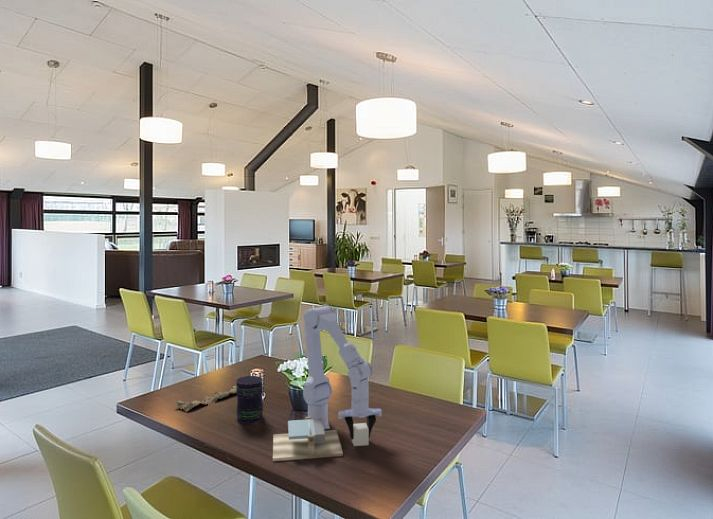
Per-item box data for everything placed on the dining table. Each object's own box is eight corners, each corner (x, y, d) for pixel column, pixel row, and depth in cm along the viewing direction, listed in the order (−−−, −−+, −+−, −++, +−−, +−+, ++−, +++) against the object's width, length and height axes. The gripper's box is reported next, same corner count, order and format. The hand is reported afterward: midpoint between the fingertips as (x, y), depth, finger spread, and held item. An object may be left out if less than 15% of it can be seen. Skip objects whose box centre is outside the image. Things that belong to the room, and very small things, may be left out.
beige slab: (273, 437, 161) (273, 418, 161) (336, 432, 165) (336, 414, 165) (272, 461, 145) (272, 440, 144) (342, 455, 148) (342, 435, 148)
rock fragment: (238, 387, 216) (238, 380, 216) (254, 391, 211) (254, 385, 210) (173, 408, 188) (173, 400, 188) (189, 413, 182) (189, 406, 182)
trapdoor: (288, 429, 160) (287, 420, 160) (321, 427, 162) (321, 418, 161) (288, 445, 148) (288, 436, 147) (325, 443, 149) (324, 433, 149)
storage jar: (234, 416, 180) (233, 378, 179) (259, 411, 184) (258, 374, 183) (240, 425, 171) (239, 385, 170) (266, 420, 175) (265, 381, 175)
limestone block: (351, 439, 160) (351, 423, 160) (365, 438, 161) (365, 422, 160) (353, 446, 155) (353, 430, 155) (368, 445, 156) (368, 429, 155)
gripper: (340, 404, 152) (340, 444, 153) (383, 401, 154) (383, 441, 155) (337, 396, 159) (337, 435, 160) (379, 393, 161) (379, 432, 162)
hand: (359, 437), depth 158 cm, fingers closed on limestone block, 5 cm apart
